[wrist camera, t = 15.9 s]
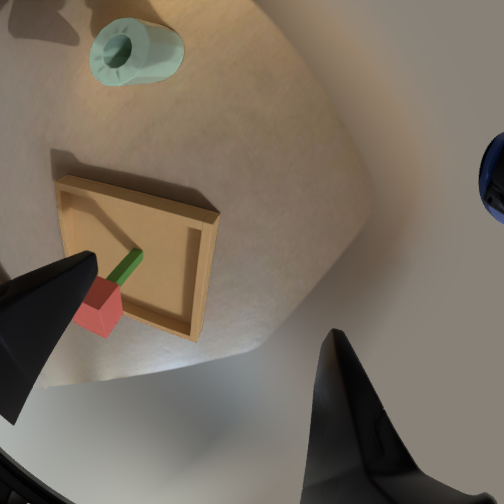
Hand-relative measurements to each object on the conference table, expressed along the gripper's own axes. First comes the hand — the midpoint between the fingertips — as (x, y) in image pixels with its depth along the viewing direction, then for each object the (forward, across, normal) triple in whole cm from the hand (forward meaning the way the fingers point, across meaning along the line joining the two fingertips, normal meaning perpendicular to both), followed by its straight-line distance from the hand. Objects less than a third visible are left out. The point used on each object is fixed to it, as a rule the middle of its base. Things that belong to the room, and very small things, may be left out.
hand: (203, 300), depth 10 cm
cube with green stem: (+13, +10, +10) cm, 19 cm away
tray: (+13, +11, +11) cm, 20 cm away
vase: (+13, +10, -8) cm, 18 cm away
